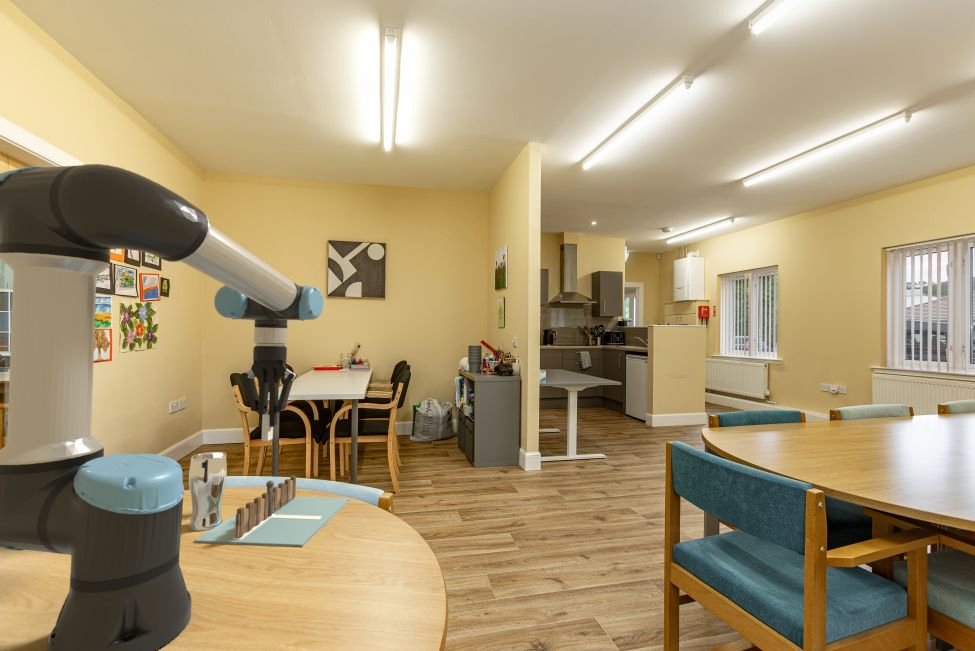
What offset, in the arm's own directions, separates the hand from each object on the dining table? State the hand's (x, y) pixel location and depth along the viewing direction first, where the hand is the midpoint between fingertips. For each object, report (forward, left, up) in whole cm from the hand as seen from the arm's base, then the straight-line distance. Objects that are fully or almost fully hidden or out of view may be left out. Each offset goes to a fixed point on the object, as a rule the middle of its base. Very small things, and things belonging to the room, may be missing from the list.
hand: (267, 439), depth 109 cm
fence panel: (-2, -6, -15) cm, 16 cm away
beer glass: (-13, +6, -16) cm, 21 cm away
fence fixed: (-14, -6, -16) cm, 22 cm away
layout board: (-8, -9, -16) cm, 20 cm away
